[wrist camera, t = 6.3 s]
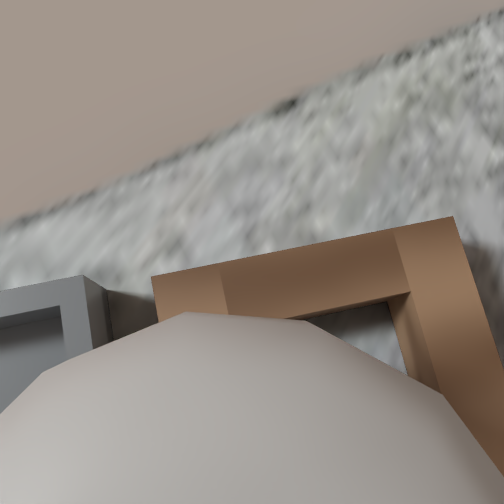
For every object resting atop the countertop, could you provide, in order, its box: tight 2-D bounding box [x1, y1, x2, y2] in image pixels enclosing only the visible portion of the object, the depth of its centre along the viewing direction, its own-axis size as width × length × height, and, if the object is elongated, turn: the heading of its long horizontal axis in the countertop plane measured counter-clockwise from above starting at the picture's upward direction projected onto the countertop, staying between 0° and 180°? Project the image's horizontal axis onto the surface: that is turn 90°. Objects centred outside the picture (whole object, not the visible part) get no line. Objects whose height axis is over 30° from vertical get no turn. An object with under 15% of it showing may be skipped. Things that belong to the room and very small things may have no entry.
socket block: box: [151, 216, 504, 477], centre depth 19 cm, size 13×13×3 cm
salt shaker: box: [0, 312, 504, 504], centre depth 8 cm, size 6×6×13 cm
